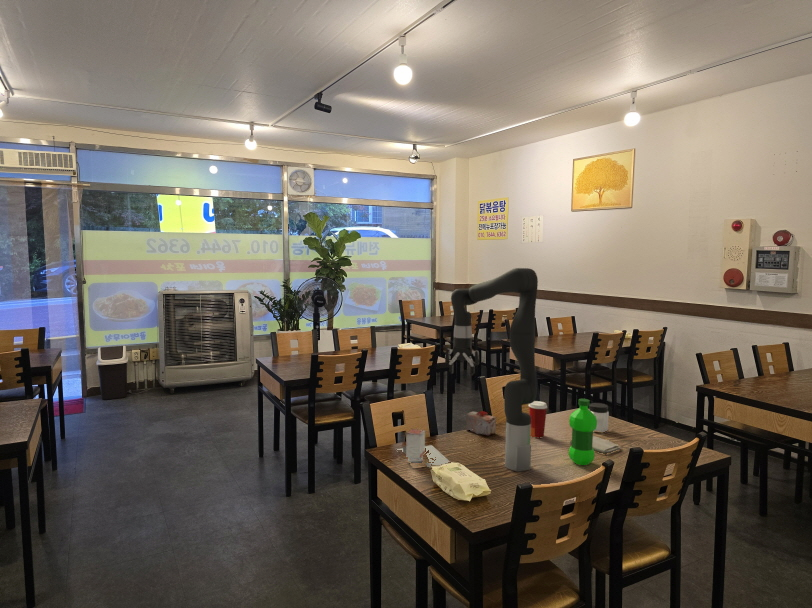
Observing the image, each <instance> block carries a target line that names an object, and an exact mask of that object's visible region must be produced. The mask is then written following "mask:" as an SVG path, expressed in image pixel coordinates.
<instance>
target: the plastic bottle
mask: <svg viewBox="0 0 812 608" xmlns="http://www.w3.org/2000/svg"><path fill="white" fill-rule="evenodd" d="M590 401H591V400H590V399H587V398H579V399H578V403H577V404H578V405H577V406H579V408H577V409H575V410H574V411H573V412H572V413H570V415H569V419H568V421H569V426H570V428H571V430H572V431H571V440H572V444H570V445H571V446H570V447H569V449H568V456H569V459H570V460H571V461H572V462H573V463H574V464H575V463H576V465H577V464H579V465H578V466H581V465H586V466H588V465H590V464H591V463H592V462H593V461H594V460H595V452H594V450H593V448H592V443H593V436H594V432H593V431H594V430H595V429H596V426H597V418H596V416H595V415H594V414H593V413H592V412H591V411H590V410H589V405H590V404H591V403H590ZM587 464H588V465H587Z"/></svg>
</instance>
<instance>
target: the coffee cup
mask: <svg viewBox="0 0 812 608" xmlns="http://www.w3.org/2000/svg"><path fill="white" fill-rule="evenodd" d="M527 405H528V411H529V412H528V414H529V415H530V416H531V436H532V437H531V436H530V437H531V438H533V437H539V438H538V439H541V438H540V437H543V436H544V437H545V427H546V418H547V409H548V405H547V403H546V402H544V401H540V400H539V401H538V400H535V401H534V402H533V403H530V404H527ZM544 437H543V438H544Z"/></svg>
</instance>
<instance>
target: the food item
mask: <svg viewBox="0 0 812 608" xmlns="http://www.w3.org/2000/svg"><path fill="white" fill-rule="evenodd" d="M497 418H498V417H497V416H492V415H489V414H488V412H486V411H483V410H480V411H478V412H477V411H470V412H468V413H466V427H465V428H466V429H465V430H466V431H468V430H470V431H469V432H473V433H475V434H477V435H483V436H491V435H495V434H496V426H497ZM472 429H473V430H472Z"/></svg>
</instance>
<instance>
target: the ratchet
mask: <svg viewBox="0 0 812 608" xmlns="http://www.w3.org/2000/svg"><path fill="white" fill-rule="evenodd" d="M402 448H403V452H404V453H405V454H406V446H402ZM408 461H409V462H411V463H422V462H423V457H422V458H421V459H415V458H408Z"/></svg>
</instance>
